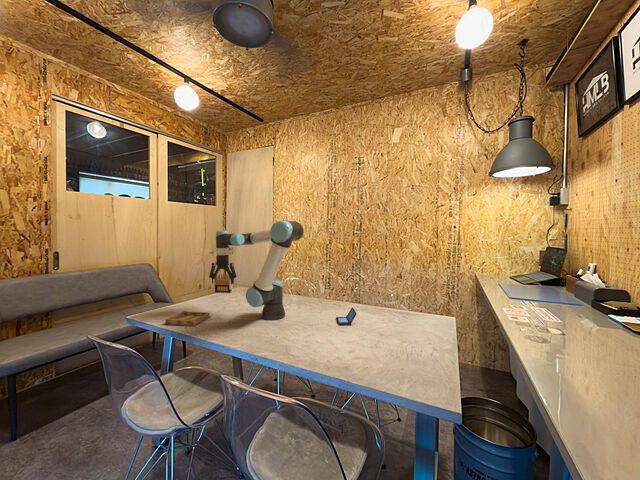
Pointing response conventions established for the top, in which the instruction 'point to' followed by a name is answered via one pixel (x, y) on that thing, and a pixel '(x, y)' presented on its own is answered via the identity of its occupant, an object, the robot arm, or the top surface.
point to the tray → (188, 318)
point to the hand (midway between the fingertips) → (223, 288)
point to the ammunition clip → (222, 284)
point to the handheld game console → (346, 318)
